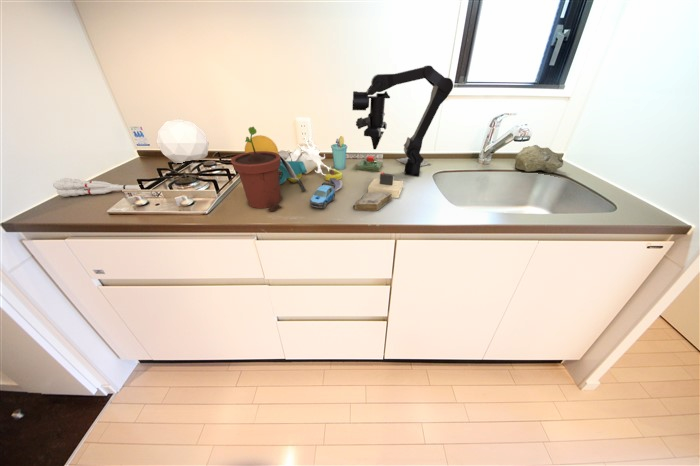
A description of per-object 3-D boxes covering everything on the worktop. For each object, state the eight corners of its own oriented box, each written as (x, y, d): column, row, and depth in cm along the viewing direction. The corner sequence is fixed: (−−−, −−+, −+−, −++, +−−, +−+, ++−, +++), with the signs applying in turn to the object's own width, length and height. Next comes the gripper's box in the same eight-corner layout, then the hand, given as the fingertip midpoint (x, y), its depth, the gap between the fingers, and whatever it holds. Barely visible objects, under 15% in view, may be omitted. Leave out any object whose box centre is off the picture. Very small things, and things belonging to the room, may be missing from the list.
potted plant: (252, 190, 99) (236, 122, 85) (306, 190, 99) (299, 123, 85) (235, 211, 84) (212, 134, 70) (298, 211, 84) (288, 135, 71)
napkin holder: (412, 159, 133) (414, 145, 129) (421, 163, 128) (423, 148, 124) (407, 160, 132) (409, 146, 128) (415, 164, 127) (418, 149, 123)
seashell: (290, 176, 110) (275, 180, 115) (307, 161, 120) (293, 166, 126) (277, 154, 105) (262, 160, 111) (296, 141, 115) (282, 147, 121)
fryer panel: (402, 188, 102) (403, 181, 100) (398, 198, 94) (399, 190, 92) (373, 184, 105) (374, 177, 103) (367, 194, 97) (368, 186, 95)
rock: (577, 152, 107) (566, 157, 120) (533, 132, 113) (527, 140, 127) (551, 183, 113) (543, 185, 126) (510, 163, 119) (507, 167, 132)
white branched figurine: (303, 130, 112) (291, 140, 116) (295, 150, 99) (281, 161, 103) (332, 162, 123) (320, 170, 127) (328, 184, 109) (315, 193, 113)
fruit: (304, 183, 105) (302, 154, 99) (289, 186, 102) (285, 157, 96) (299, 177, 110) (295, 150, 103) (284, 180, 107) (279, 153, 101)
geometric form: (147, 153, 122) (141, 125, 102) (182, 130, 133) (182, 101, 113) (184, 182, 129) (186, 162, 109) (214, 158, 140) (221, 136, 119)
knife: (346, 194, 97) (340, 172, 117) (346, 188, 95) (340, 166, 116) (326, 195, 96) (324, 172, 116) (326, 189, 94) (323, 167, 115)
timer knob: (392, 184, 98) (393, 173, 95) (392, 185, 97) (393, 175, 94) (380, 182, 99) (381, 172, 97) (379, 183, 98) (380, 173, 95)
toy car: (307, 207, 86) (307, 192, 83) (322, 195, 96) (322, 181, 93) (323, 211, 84) (323, 196, 81) (336, 198, 94) (336, 184, 91)
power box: (382, 166, 125) (383, 158, 122) (378, 171, 118) (379, 163, 115) (361, 163, 128) (362, 155, 125) (356, 169, 120) (356, 161, 118)
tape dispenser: (271, 183, 101) (262, 164, 97) (306, 170, 102) (298, 151, 98) (271, 187, 95) (262, 168, 91) (308, 174, 96) (300, 154, 92)
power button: (374, 159, 122) (374, 156, 121) (372, 161, 119) (373, 158, 118) (367, 159, 122) (367, 155, 121) (365, 161, 120) (365, 157, 119)
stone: (371, 215, 83) (371, 207, 81) (351, 208, 87) (351, 200, 85) (392, 199, 93) (393, 192, 91) (373, 194, 97) (374, 187, 95)
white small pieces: (310, 130, 121) (314, 135, 122) (303, 136, 124) (307, 141, 126) (289, 159, 102) (294, 164, 103) (280, 165, 105) (285, 170, 107)
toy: (251, 173, 112) (282, 159, 113) (234, 141, 108) (265, 127, 109) (258, 173, 126) (285, 161, 127) (243, 145, 122) (270, 133, 123)
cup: (345, 173, 115) (345, 140, 107) (329, 173, 116) (327, 139, 108) (348, 164, 127) (348, 133, 119) (333, 163, 128) (332, 132, 119)
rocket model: (51, 173, 90) (144, 175, 95) (69, 182, 97) (155, 183, 102) (46, 192, 88) (142, 192, 93) (65, 200, 95) (153, 200, 100)
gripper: (363, 106, 111) (362, 142, 120) (351, 112, 96) (351, 153, 105) (388, 108, 108) (385, 144, 117) (380, 114, 93) (377, 155, 102)
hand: (374, 149), depth 110 cm, fingers closed
